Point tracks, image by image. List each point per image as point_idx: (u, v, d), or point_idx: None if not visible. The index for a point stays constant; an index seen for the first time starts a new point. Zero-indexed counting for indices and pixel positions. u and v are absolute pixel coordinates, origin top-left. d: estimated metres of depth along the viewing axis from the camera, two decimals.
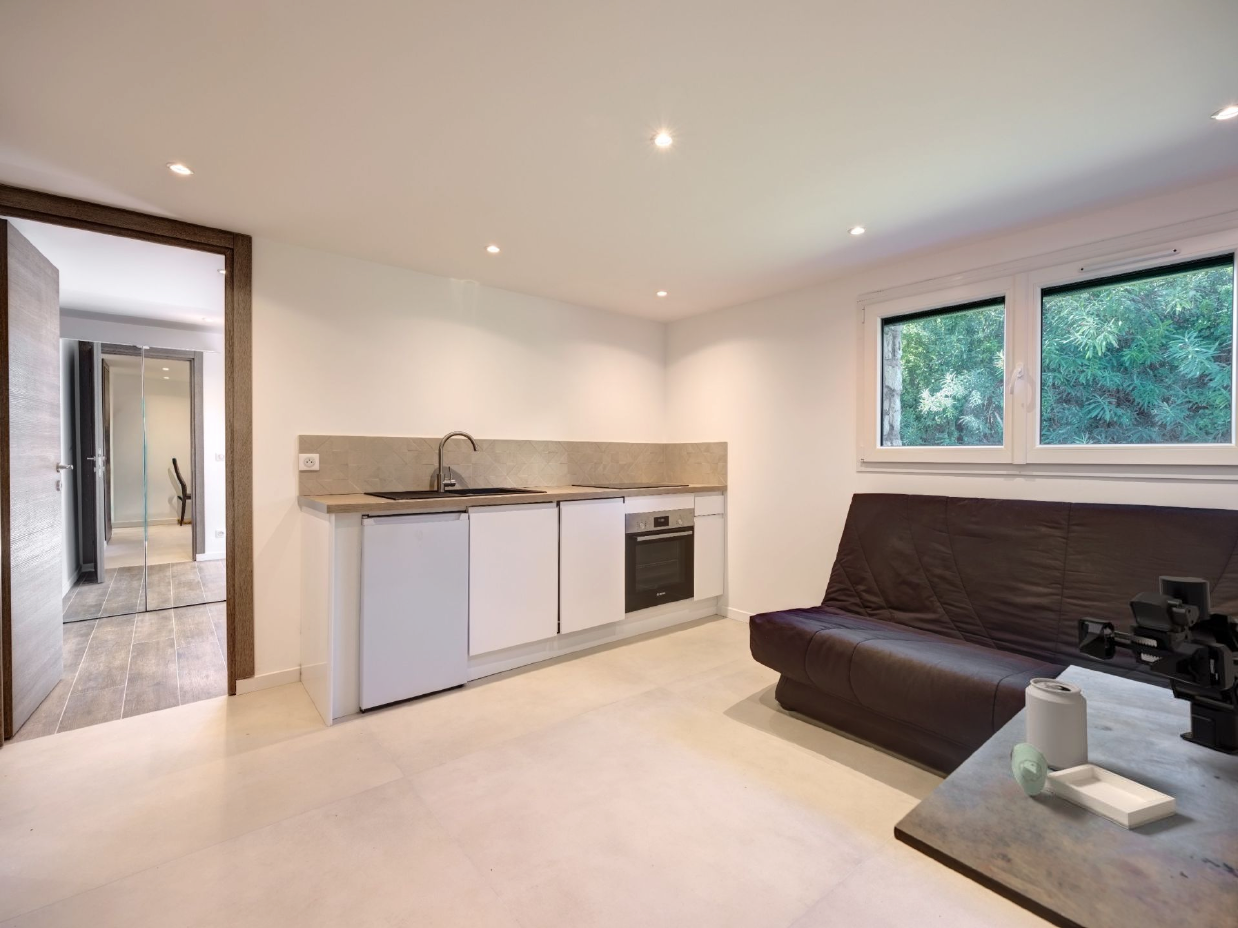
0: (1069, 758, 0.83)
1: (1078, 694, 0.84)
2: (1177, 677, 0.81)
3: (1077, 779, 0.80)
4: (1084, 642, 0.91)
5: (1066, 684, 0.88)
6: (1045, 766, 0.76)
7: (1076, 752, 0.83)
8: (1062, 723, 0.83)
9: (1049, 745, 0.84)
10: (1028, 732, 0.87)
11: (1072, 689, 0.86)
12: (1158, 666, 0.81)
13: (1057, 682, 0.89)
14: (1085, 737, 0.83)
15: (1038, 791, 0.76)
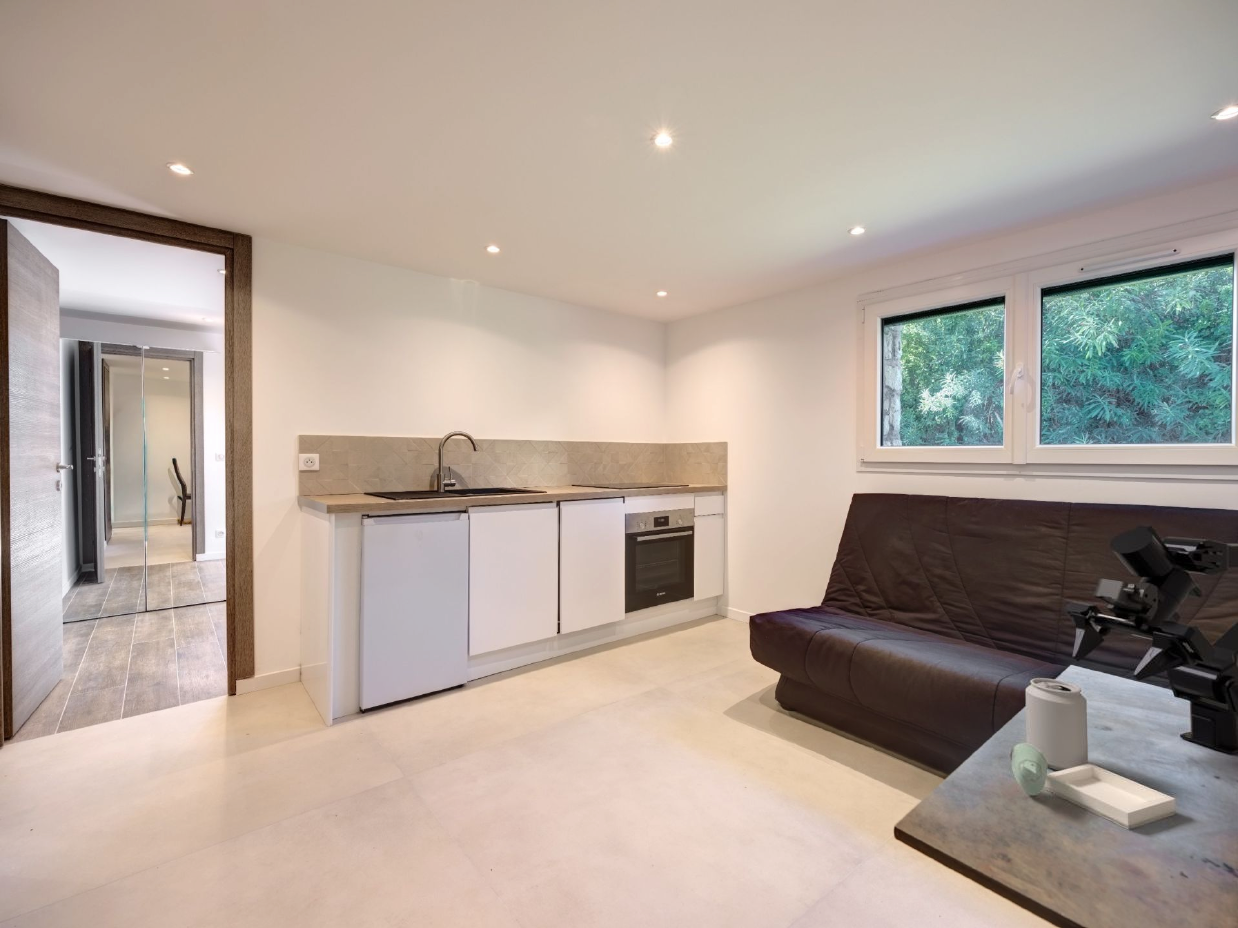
0: (1069, 758, 0.83)
1: (1078, 694, 0.84)
2: (1163, 670, 0.84)
3: (1077, 779, 0.80)
4: (1075, 648, 0.94)
5: (1066, 684, 0.88)
6: (1045, 766, 0.76)
7: (1076, 752, 0.83)
8: (1062, 723, 0.83)
9: (1049, 745, 0.84)
10: (1028, 732, 0.87)
11: (1072, 689, 0.86)
12: (1141, 673, 0.84)
13: (1057, 682, 0.89)
14: (1085, 737, 0.83)
15: (1038, 791, 0.76)
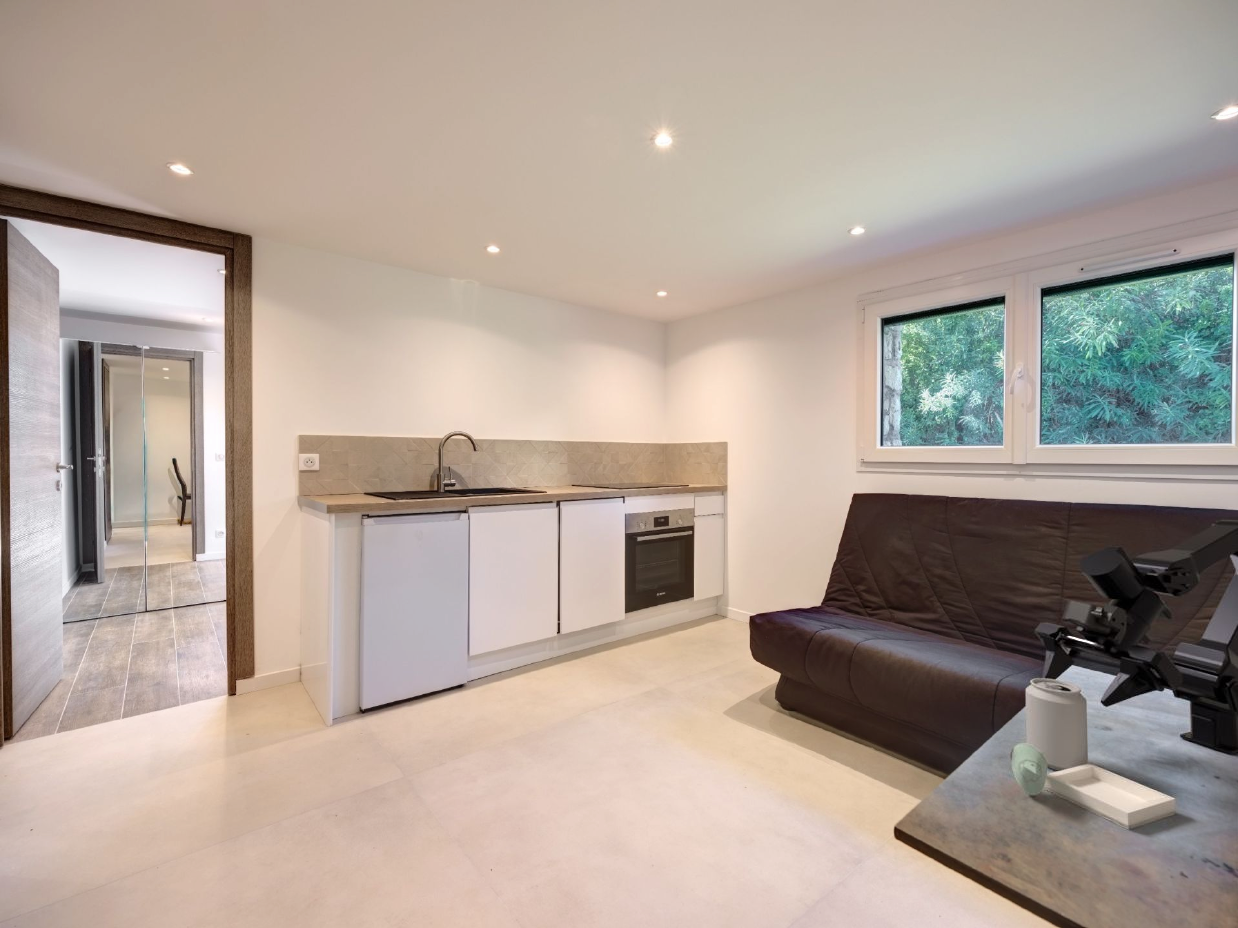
0: (1069, 758, 0.83)
1: (1078, 694, 0.84)
2: (1131, 696, 0.83)
3: (1077, 779, 0.80)
4: (1044, 671, 0.92)
5: (1066, 684, 0.88)
6: (1045, 766, 0.76)
7: (1076, 752, 0.83)
8: (1062, 723, 0.83)
9: (1049, 745, 0.84)
10: (1028, 732, 0.87)
11: (1072, 689, 0.86)
12: (1109, 700, 0.83)
13: (1057, 682, 0.89)
14: (1085, 737, 0.83)
15: (1038, 791, 0.76)
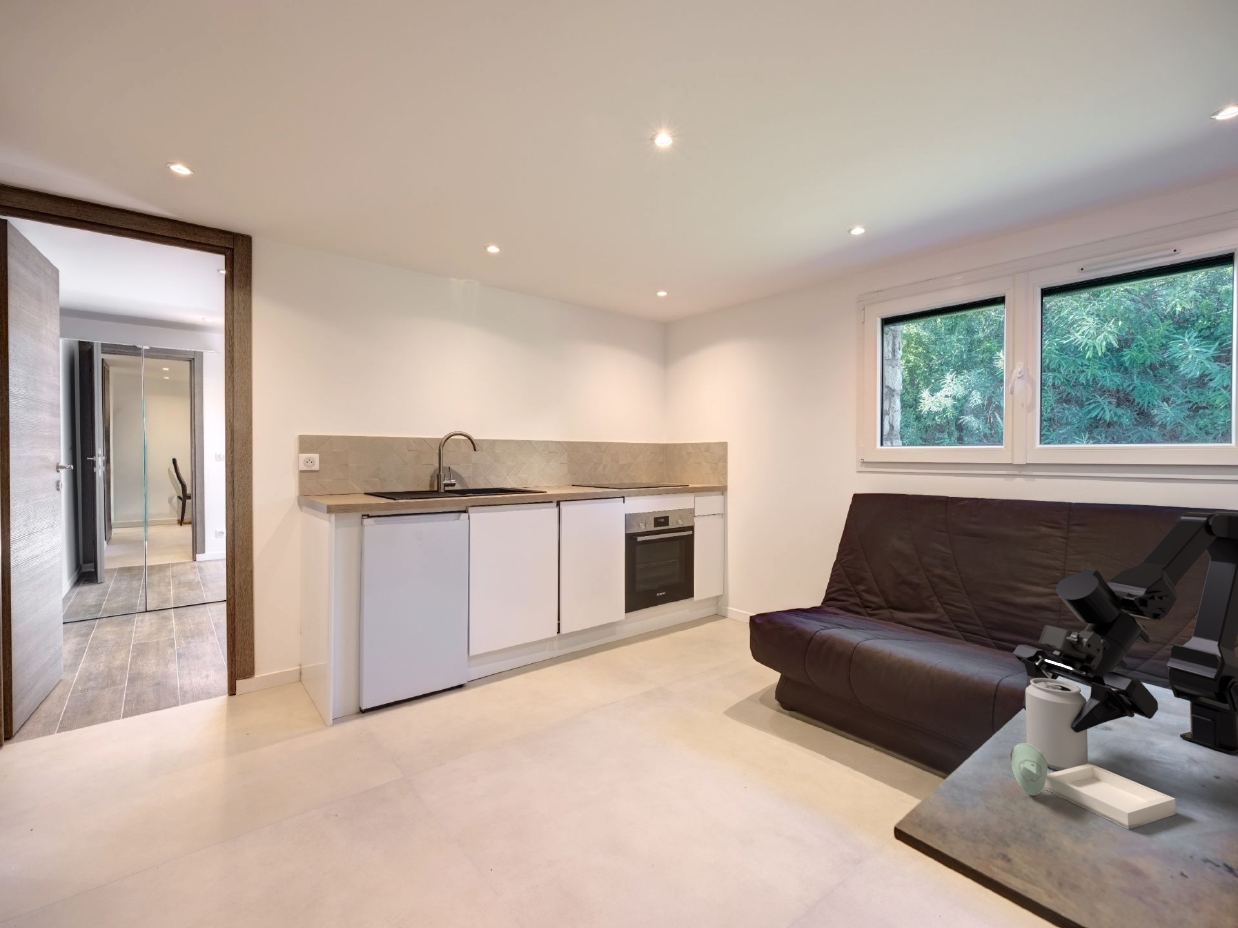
0: (1069, 758, 0.83)
1: (1078, 694, 0.84)
2: (1102, 722, 0.82)
3: (1077, 779, 0.80)
4: (1025, 697, 0.91)
5: (1066, 684, 0.88)
6: (1045, 766, 0.76)
7: (1076, 752, 0.83)
8: (1062, 722, 0.83)
9: (1049, 745, 0.84)
10: (1028, 732, 0.87)
11: (1072, 689, 0.86)
12: (1079, 725, 0.82)
13: (1057, 682, 0.89)
14: (1085, 737, 0.83)
15: (1038, 791, 0.76)
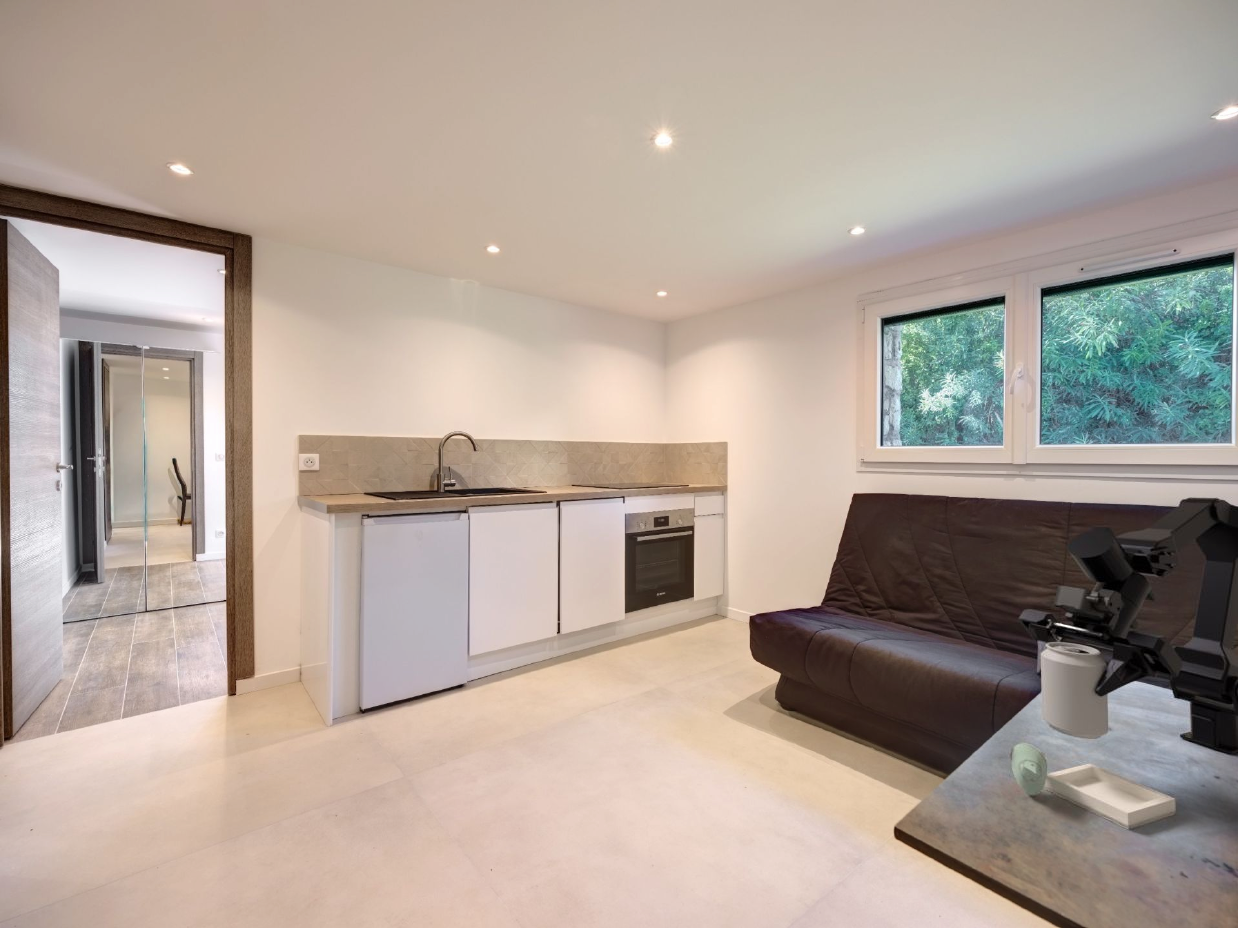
0: (1092, 724, 0.78)
1: (1098, 656, 0.80)
2: (1124, 684, 0.78)
3: (1077, 779, 0.80)
4: (1039, 663, 0.86)
5: (1081, 647, 0.83)
6: (1045, 766, 0.76)
7: (1099, 717, 0.78)
8: (1085, 687, 0.78)
9: (1071, 712, 0.79)
10: (1046, 700, 0.82)
11: (1089, 651, 0.82)
12: (1104, 689, 0.78)
13: (1071, 645, 0.84)
14: (1106, 701, 0.79)
15: (1038, 791, 0.76)
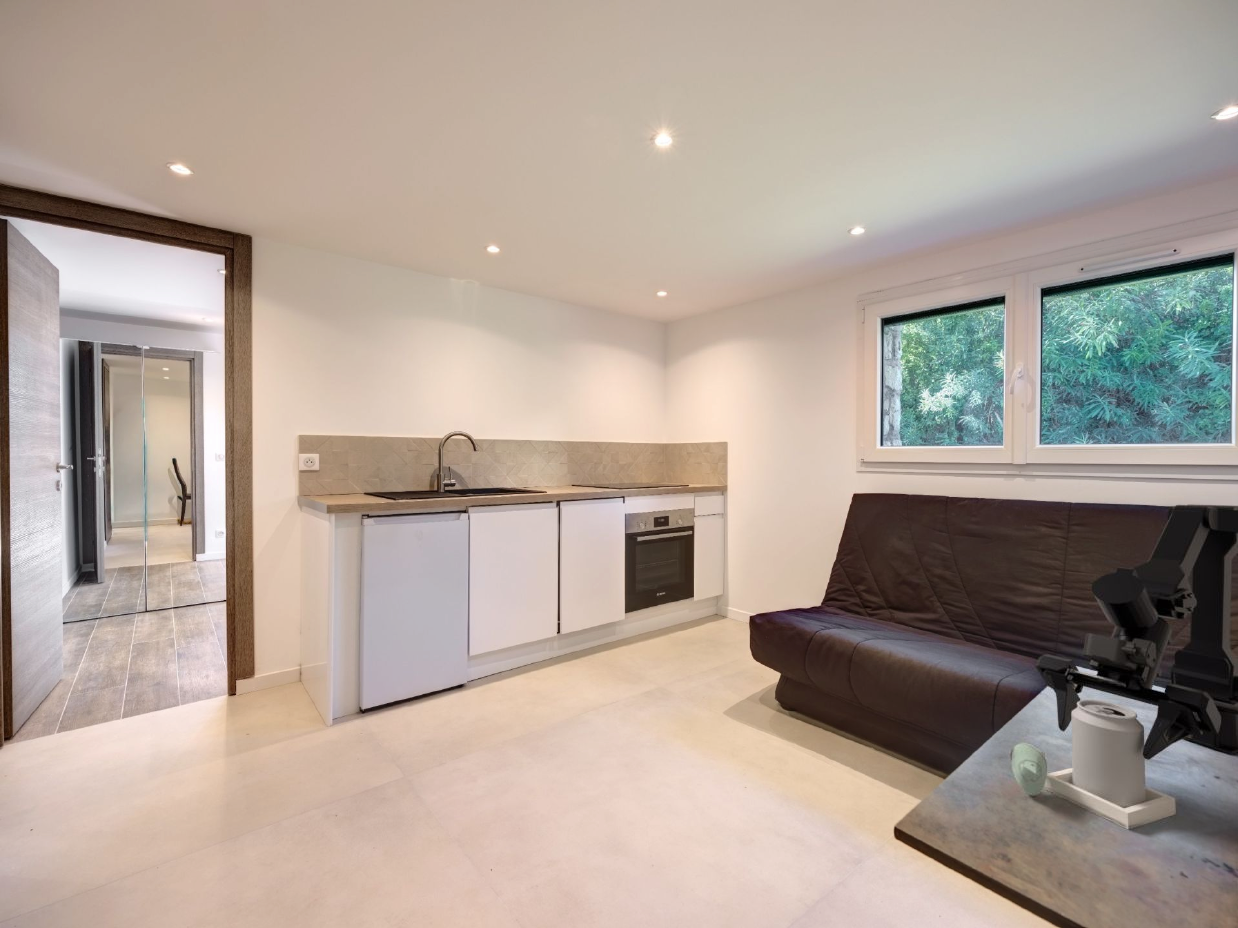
0: (1133, 794, 0.72)
1: (1135, 718, 0.74)
2: (1170, 744, 0.72)
3: None
4: (1060, 715, 0.80)
5: (1112, 705, 0.78)
6: (1045, 766, 0.76)
7: (1140, 786, 0.72)
8: (1126, 754, 0.72)
9: (1111, 781, 0.73)
10: (1080, 766, 0.76)
11: (1123, 712, 0.76)
12: (1151, 751, 0.71)
13: (1101, 703, 0.79)
14: (1144, 767, 0.74)
15: (1038, 791, 0.76)
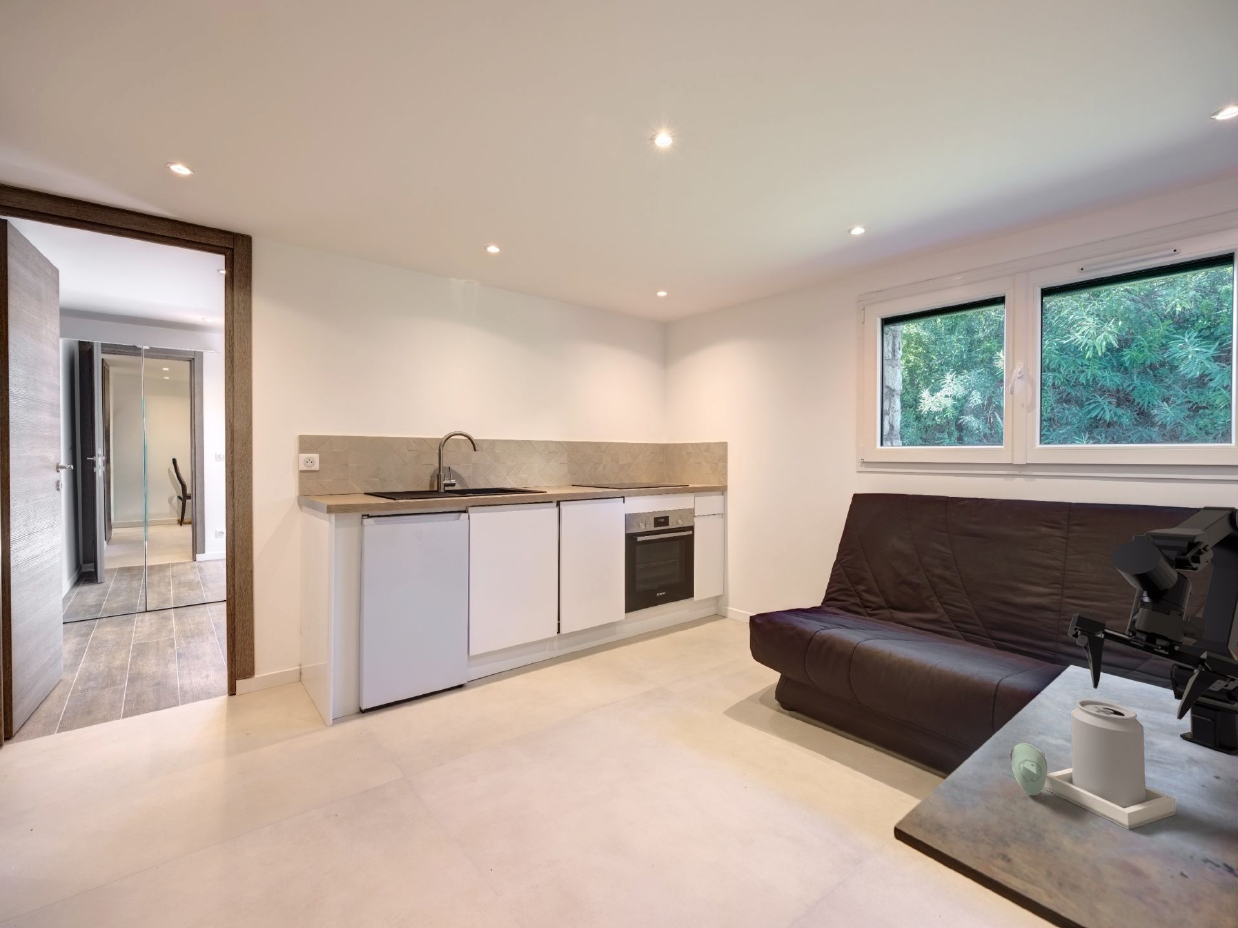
0: (1133, 794, 0.72)
1: (1135, 718, 0.74)
2: None
3: None
4: (1095, 675, 0.85)
5: (1111, 705, 0.78)
6: (1045, 766, 0.76)
7: (1140, 786, 0.72)
8: (1125, 754, 0.73)
9: (1111, 781, 0.73)
10: (1080, 766, 0.76)
11: (1122, 712, 0.76)
12: (1185, 713, 0.78)
13: (1100, 703, 0.79)
14: (1144, 767, 0.74)
15: (1038, 791, 0.76)
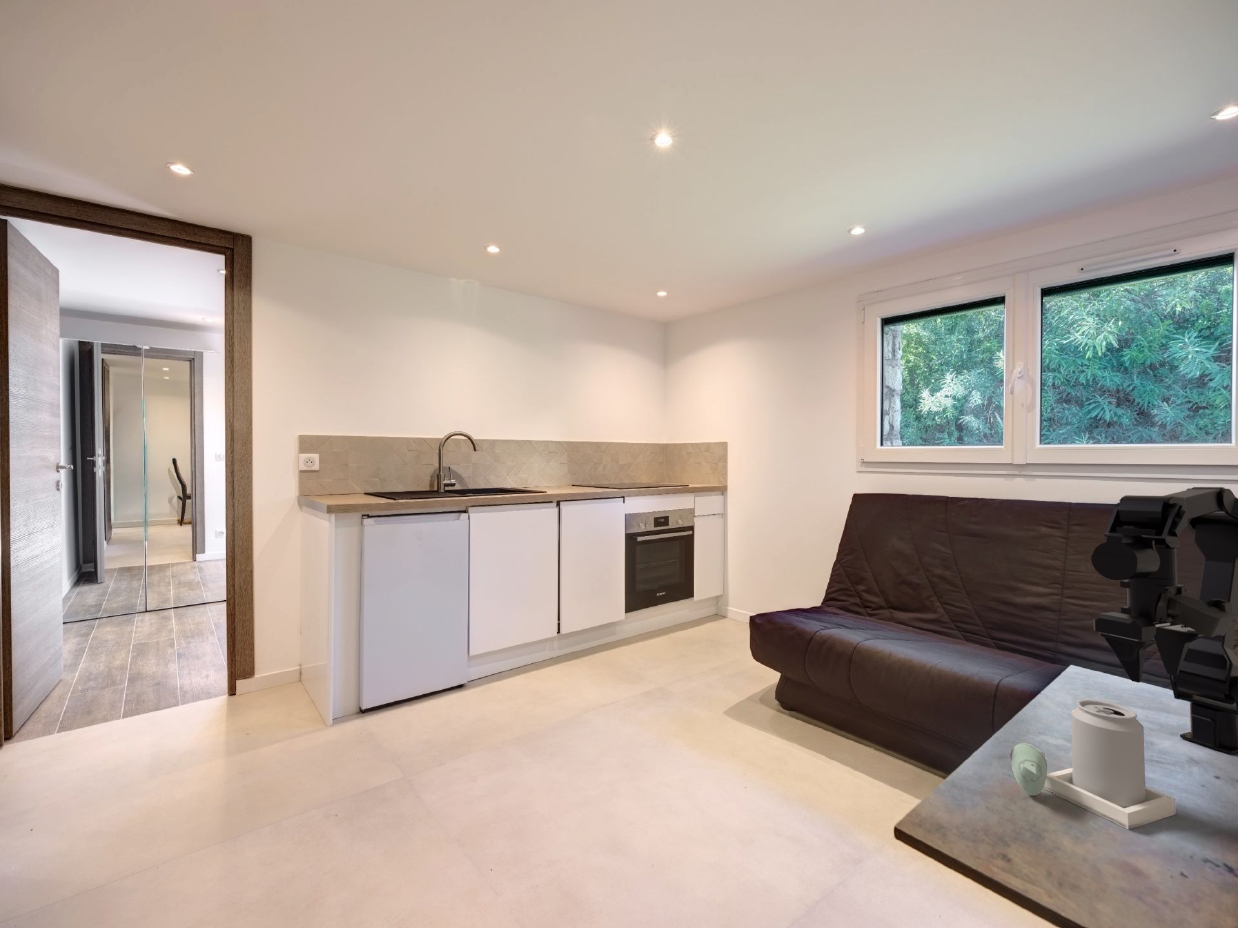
0: (1133, 794, 0.72)
1: (1135, 718, 0.74)
2: None
3: None
4: (1140, 673, 0.84)
5: (1111, 705, 0.78)
6: (1045, 766, 0.76)
7: (1140, 786, 0.72)
8: (1125, 754, 0.73)
9: (1111, 781, 0.73)
10: (1080, 766, 0.76)
11: (1122, 712, 0.76)
12: None
13: (1100, 703, 0.79)
14: (1144, 767, 0.74)
15: (1038, 791, 0.76)
